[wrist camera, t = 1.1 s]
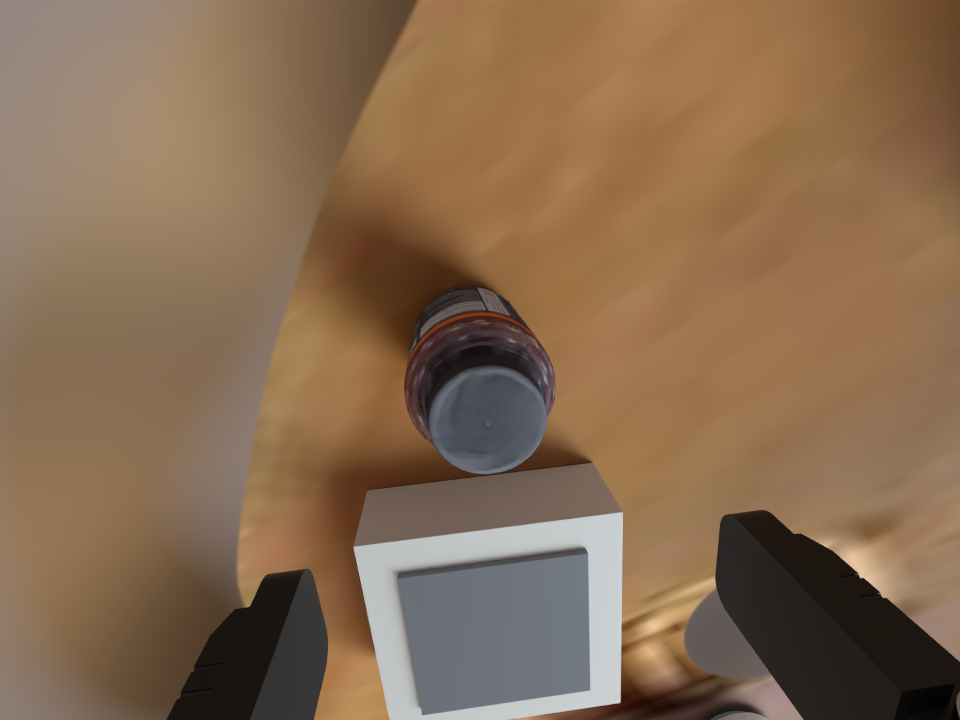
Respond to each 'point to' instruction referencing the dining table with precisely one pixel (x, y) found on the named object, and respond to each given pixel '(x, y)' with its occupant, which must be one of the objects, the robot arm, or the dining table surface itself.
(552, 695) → the white and gray stand
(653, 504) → the dining table surface
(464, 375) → the supplement bottle
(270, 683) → the robot arm
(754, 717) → the can
